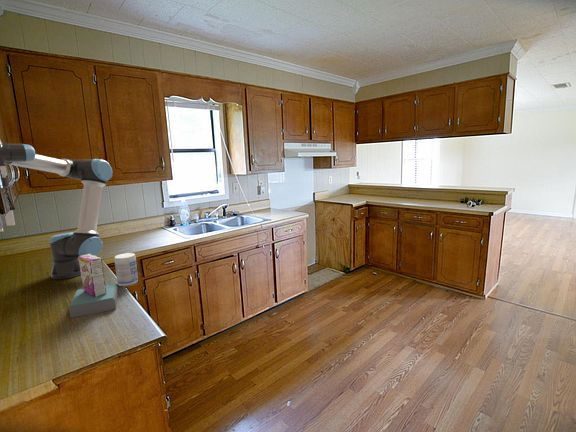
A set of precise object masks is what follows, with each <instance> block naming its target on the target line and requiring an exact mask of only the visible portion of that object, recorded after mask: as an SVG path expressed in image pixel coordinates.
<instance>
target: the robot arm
mask: <svg viewBox="0 0 576 432" xmlns="http://www.w3.org/2000/svg"><path fill="white" fill-rule="evenodd" d="M6 165H10V166H15V167H19V168H20V167H21V168H26V169H32V170H37V171H42V172H48V173H54V174H58V176H60V177H64V178H69V179H73V180H77V181H80V182H81V183H82V185H83V189H82V195H81V204H80V208H79V209H80V210H79V216H78V223H77V229H76V230H74V231H72V232H69V231H68V232H63V233H58V234H55V235H52V236H50V238H49V246H50V253H51V257H52V263H53V264H52V268H51V271H50V277H51V279H53V280H68V279H71V278H76V277H78V276H81V271H80V265H79V259H78V256H83V255H86V254H92V255H95V256H97V257H98V255H99V254H101V252H102V250H103V245H104V243H103V240H102V238H100V233H99V232H98V231H97V228H98V221H99V214H100V209H101V208H100V207H101V206H100V205H101V200H102V192H103V188H104V187H105V186H107V182H108V181H109V180H111V179H112V177H113V168H112V166H111V165H110V163H109V162H108V161H107V160H104V159H101V158H100V159H99V158H94V159H93V158H91V159H82V158H81V159H68V158H61V159H60V158H56V157H52V156H51V157H50V156H46V155H42V154H37V153H36V150H35V148H34V147H33V146H32V145H30V144H24V143H2V140H1V139H0V170H1V174H2V180H3V186H4V188H6V190H7V194H6V195H8V196H7V199H8V200H9V201H8V202H9V206H10V210H9V212H8V213H7V214H6V216H5V215H4V219H5V225H6V226H7V227H8V226H10V227H11V226H15V225H16V221H15V217H14V211H15V209H16V208H15V206H14V204H13V201H12V198H11V195H10V193H9V190H8V187H9V186H10V184H9V183H10V182H9V178H8V177H7V176H8V172H7V167H6ZM0 232H1V233H3V232H4V227H3V228H2V229H0Z"/></svg>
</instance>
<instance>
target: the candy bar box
mask: <svg viewBox="0 0 576 432" xmlns="http://www.w3.org/2000/svg"><path fill="white" fill-rule="evenodd" d="M78 259H79V265H80V271H81V275H80V278H81V282H82V289H83V290H84V292H86V293H88V294H90V295H92V296H94V297H98V296H101V295H104V294H106V286H105V285H106V280H105V275H104V274H105V273H104V272H105V271H104V267H103V260H102V259H103V258H102V257H99V256H98V255H97V256H95V255H92V254H86V255H83V256H78Z"/></svg>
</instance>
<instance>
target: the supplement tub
mask: <svg viewBox="0 0 576 432" xmlns="http://www.w3.org/2000/svg"><path fill="white" fill-rule="evenodd" d="M114 266H115V275H116V276H115V277H116V282H117V283H116V284H117V286H119V287H129V286H133V285H135V284H137V283H138V281H139V275H138V267H137V256H136V254H135V253H132V252H126V253H125V252H124V253H121V254H117V255H115V256H114Z"/></svg>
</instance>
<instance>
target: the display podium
mask: <svg viewBox="0 0 576 432" xmlns="http://www.w3.org/2000/svg"><path fill="white" fill-rule="evenodd" d="M105 286H106V294H104V295H101V296H98V297H94V296H92V295H90V294H88V293H86V292H84V290H83V288H80V289H77V290H76V291H75V293H74V295H73V297H72V300H71V302H70V305H69V307H68V311H69V312H68V313H69V317H70V319H72V318H77V317H81V316H82V317H83V316H86V315H92V314H96V313H103V312H107V311H111V310H112V311H113V310H116V309H117V303H118V297H119V295H118V294H119V290H118V288H119V287H118V284H117V283H110V284H105Z"/></svg>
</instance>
